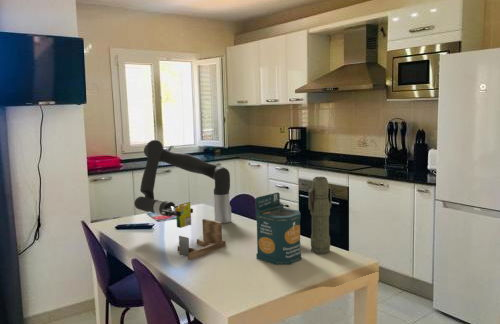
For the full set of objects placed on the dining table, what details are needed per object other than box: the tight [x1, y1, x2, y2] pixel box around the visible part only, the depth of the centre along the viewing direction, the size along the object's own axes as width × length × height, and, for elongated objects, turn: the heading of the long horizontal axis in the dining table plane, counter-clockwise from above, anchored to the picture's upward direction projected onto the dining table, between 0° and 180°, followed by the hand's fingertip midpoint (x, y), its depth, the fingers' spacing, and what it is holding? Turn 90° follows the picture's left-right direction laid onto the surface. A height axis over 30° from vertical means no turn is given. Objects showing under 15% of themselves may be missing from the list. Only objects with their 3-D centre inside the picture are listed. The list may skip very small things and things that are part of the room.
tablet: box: [146, 212, 177, 223], centre depth 277 cm, size 19×25×1 cm
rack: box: [176, 218, 227, 261], centre depth 206 cm, size 14×24×12 cm, turn 142°
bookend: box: [178, 235, 190, 258], centre depth 199 cm, size 6×4×9 cm, turn 52°
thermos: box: [307, 176, 333, 255], centre depth 198 cm, size 9×12×35 cm
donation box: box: [254, 192, 302, 266], centre depth 191 cm, size 16×16×28 cm
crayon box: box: [175, 201, 192, 229], centre depth 210 cm, size 7×3×12 cm, turn 140°
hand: (186, 212), depth 209 cm, fingers closed on crayon box, 7 cm apart
